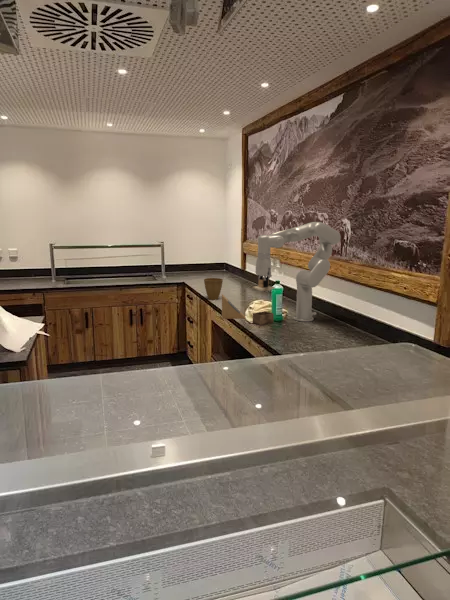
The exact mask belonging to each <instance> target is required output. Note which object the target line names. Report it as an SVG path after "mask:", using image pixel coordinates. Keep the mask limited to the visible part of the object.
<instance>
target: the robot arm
mask: <svg viewBox="0 0 450 600" xmlns="http://www.w3.org/2000/svg"><path fill="white" fill-rule="evenodd" d="M313 237H318V240H319V241H318V242H319V248H318V249H317V251H316V252H315V254H314V255H313V256H312V257H311V259H310V260H309V261H308V262H307V268H308V269H307V270H306V269H301V270H300V271H298V272H297V274H296V277H295V282H296V307H295V308H296V310H295V313H296V314H295V316H293V320H294V321H297V322H302V323H303V322H312V321H314V319H315V318H314V317H313V316H316V315H317V312H316V311H312V306H313V305H312V304H313V302H312V301H313V288H315V287H317V286H319V284H320V283H321V282H322V281H323V279H324V278H325V277H326V276H327V274H328V273H329V271H330V269H331V263H330V260H329V259H330V258H331V256H332V253H333V246H335V245H338V244H339V243H340V242H341V239H342V237H341V233H340V232H339V231H338V230H336V229H335V228H333V227H331V226H329V225H328V224H326V223H324V222H321V221H311V222H308V223H305V224H301V225H299V226H296V227H292V228H288V229H285V230H280V231H277V232H273V233H271V234H269V235H259V236H258V237H257V258H256V262H255V275H256V276H257V277H258V281H259V280H260V279H264V287H268V280H269V281H270V278H271V277H272V276H273V275H272V260H271V248H275V249H279V248H282V247H283V246H284V244H285V243H289V242H291V243H293V242H299V241H304V240H306V239H308V238H313ZM331 245H332V246H331Z"/></svg>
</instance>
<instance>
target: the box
mask: <svg viewBox="0 0 450 600" xmlns="http://www.w3.org/2000/svg"><path fill="white" fill-rule="evenodd" d="M252 324H255V325H258V326H265V325H270V324H274V313H273V312H269V311H264V310H263V311H258V312H253V313H252Z"/></svg>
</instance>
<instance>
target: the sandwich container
mask: <svg viewBox="0 0 450 600" xmlns="http://www.w3.org/2000/svg"><path fill="white" fill-rule="evenodd" d="M221 318H222V319H223V320H226V319H227V320H228V319H229V320H231V319H232V320H235V319H238V320H239V319H246V316H245V315H244V313H243V312H241V311H240V310H239V309H238V308H237V307H236V306H235V305H234V304H233V303H232V302H231V301H230V300H229V299H228V298H227V297H226V296H225V295H224V294H223V293H222V294H221Z"/></svg>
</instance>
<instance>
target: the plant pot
mask: <svg viewBox="0 0 450 600" xmlns="http://www.w3.org/2000/svg"><path fill="white" fill-rule="evenodd" d="M223 281H224V279H222V278H218V277H207V278H206V277H205V278H204V279H203V283H204V289H205V292H206V295H207V298H208V300H211V301H216V300H215V299H217V300H219V297H220V294H221V291H222V287H223Z"/></svg>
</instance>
